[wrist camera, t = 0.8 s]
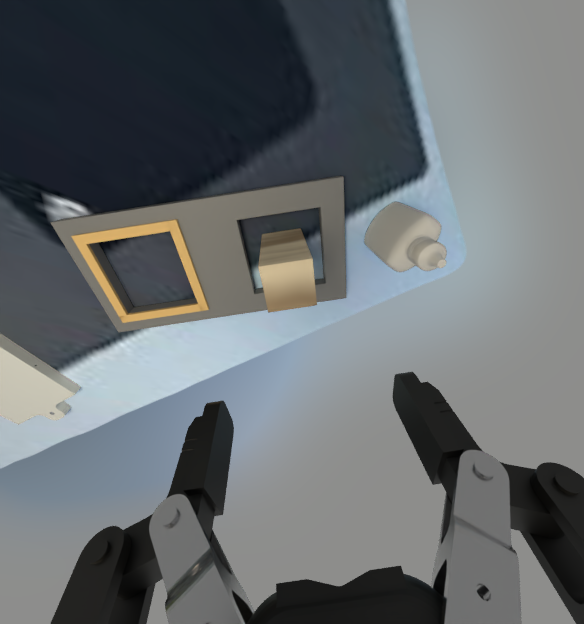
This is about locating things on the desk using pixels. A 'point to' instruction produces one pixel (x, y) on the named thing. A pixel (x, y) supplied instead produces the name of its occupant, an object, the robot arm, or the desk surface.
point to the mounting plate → (31, 385)
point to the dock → (206, 250)
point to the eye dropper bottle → (406, 238)
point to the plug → (286, 271)
